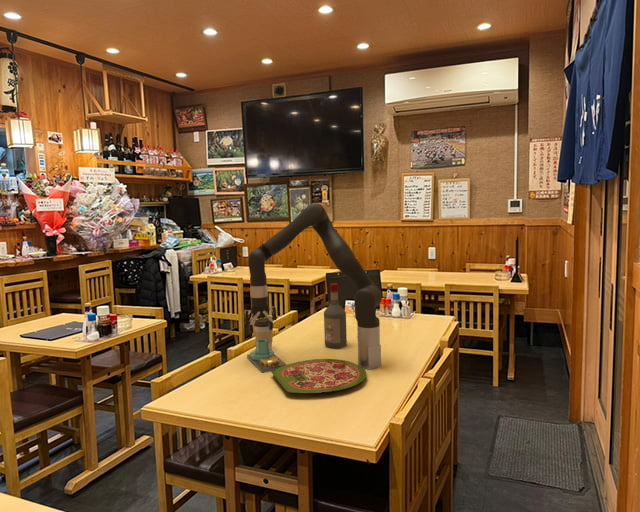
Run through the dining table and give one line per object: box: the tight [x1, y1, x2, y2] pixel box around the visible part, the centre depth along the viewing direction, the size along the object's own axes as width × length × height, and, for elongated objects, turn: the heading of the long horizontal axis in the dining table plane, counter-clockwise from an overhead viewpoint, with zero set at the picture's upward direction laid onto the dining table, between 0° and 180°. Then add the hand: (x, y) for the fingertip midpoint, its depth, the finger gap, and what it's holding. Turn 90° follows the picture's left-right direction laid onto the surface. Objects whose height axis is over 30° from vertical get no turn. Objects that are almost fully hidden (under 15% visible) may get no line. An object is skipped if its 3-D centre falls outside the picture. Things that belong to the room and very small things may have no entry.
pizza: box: [271, 358, 367, 394], centre depth 185 cm, size 35×35×2 cm
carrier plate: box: [246, 353, 288, 373], centre depth 205 cm, size 21×11×6 cm, turn 25°
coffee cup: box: [253, 317, 274, 351], centre depth 222 cm, size 9×9×15 cm
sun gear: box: [260, 356, 280, 366], centre depth 201 cm, size 8×8×2 cm
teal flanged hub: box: [249, 339, 276, 360], centre depth 210 cm, size 10×10×7 cm
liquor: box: [323, 282, 348, 350], centre depth 225 cm, size 9×9×30 cm
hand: (261, 331), depth 208 cm, fingers open, 8 cm apart
